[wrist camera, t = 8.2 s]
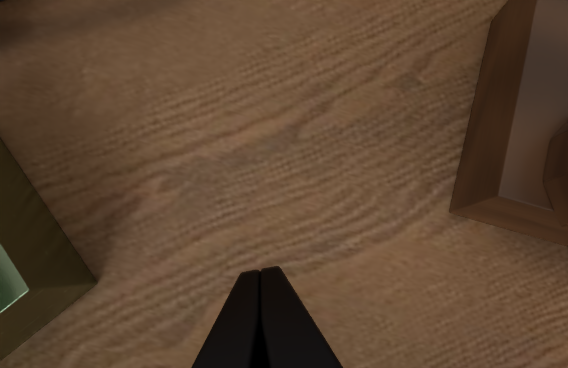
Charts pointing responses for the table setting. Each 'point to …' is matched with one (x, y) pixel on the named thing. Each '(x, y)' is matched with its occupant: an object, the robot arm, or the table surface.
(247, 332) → the robot arm
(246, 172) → the table surface
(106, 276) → the table surface
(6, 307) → the green block
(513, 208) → the walnut block
